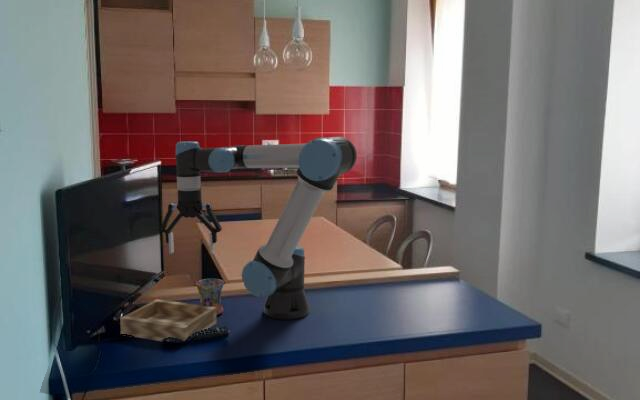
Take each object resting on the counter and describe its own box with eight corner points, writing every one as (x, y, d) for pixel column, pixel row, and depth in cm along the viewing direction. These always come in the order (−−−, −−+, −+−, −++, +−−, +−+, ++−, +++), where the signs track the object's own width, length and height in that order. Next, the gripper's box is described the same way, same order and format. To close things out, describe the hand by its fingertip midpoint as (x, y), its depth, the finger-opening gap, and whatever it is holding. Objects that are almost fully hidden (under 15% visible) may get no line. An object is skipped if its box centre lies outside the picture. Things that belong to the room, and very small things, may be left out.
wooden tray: (216, 322, 193) (216, 307, 192) (185, 345, 175) (184, 327, 174) (156, 314, 199) (156, 299, 199) (120, 334, 182) (120, 318, 181)
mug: (226, 316, 198) (225, 285, 197) (197, 319, 196) (196, 287, 194) (222, 305, 210) (221, 275, 208) (194, 306, 207) (194, 277, 206)
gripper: (229, 187, 200) (231, 250, 203) (155, 187, 201) (158, 249, 205) (224, 190, 193) (226, 255, 196) (147, 190, 194) (151, 255, 197)
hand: (191, 252), depth 200 cm, fingers open, 13 cm apart
